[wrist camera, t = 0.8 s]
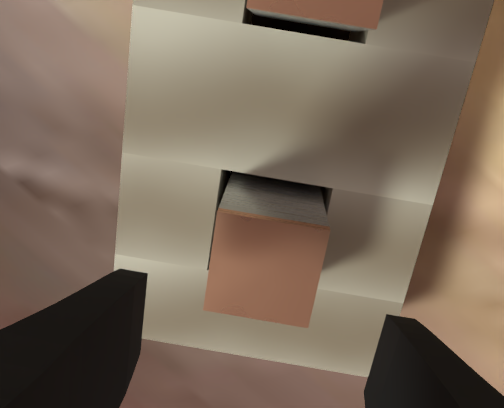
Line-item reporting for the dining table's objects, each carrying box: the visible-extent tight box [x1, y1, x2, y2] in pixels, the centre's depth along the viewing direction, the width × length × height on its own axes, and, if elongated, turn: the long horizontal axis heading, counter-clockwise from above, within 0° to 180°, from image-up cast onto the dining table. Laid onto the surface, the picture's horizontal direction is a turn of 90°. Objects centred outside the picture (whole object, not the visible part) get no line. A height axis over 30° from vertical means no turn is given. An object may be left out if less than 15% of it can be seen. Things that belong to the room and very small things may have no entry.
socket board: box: [114, 0, 494, 377], centre depth 16 cm, size 18×10×4 cm, turn 171°
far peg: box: [203, 172, 330, 328], centre depth 15 cm, size 3×3×4 cm
